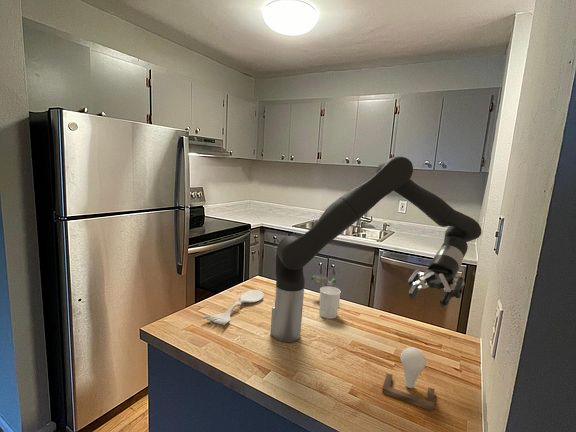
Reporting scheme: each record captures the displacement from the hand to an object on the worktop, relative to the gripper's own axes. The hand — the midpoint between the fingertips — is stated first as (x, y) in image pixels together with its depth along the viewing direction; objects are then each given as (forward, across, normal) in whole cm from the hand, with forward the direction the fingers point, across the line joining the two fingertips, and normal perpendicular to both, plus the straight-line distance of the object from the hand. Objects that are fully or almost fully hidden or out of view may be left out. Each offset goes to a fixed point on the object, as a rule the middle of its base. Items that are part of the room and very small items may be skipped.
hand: (426, 300), depth 87 cm
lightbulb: (+18, 0, +14) cm, 23 cm away
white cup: (+4, -40, +17) cm, 43 cm away
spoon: (+25, -63, +2) cm, 68 cm away
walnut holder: (+20, +1, +13) cm, 24 cm away
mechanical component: (-4, -50, +20) cm, 55 cm away
